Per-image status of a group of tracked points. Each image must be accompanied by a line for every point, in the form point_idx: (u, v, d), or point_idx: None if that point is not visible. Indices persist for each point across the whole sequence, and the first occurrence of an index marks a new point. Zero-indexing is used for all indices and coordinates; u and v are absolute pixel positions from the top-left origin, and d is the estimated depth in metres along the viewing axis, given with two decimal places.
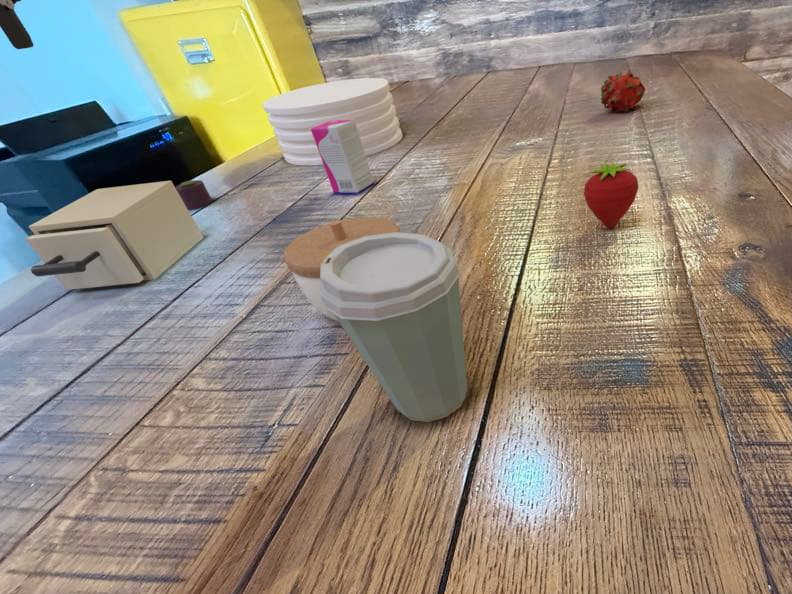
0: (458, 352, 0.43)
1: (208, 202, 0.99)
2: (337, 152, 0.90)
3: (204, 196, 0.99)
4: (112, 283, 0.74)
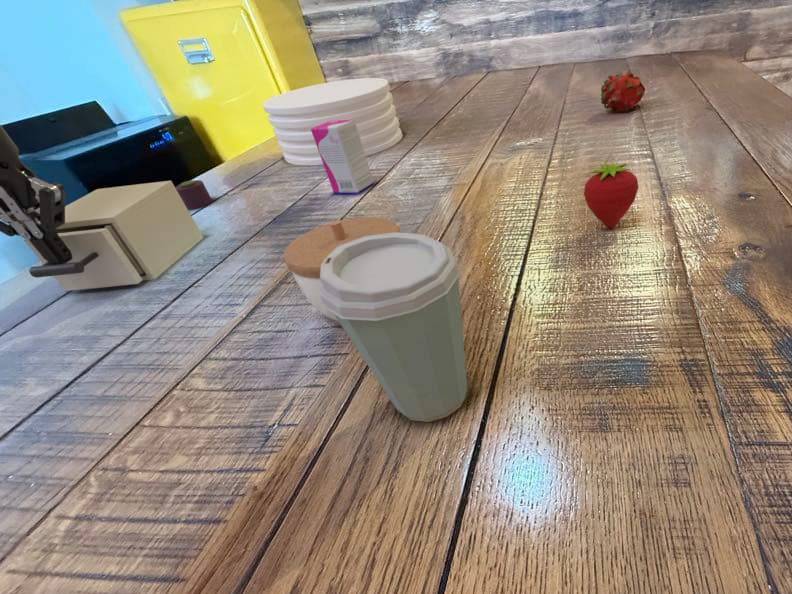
0: (458, 352, 0.43)
1: (208, 202, 0.99)
2: (337, 152, 0.90)
3: (204, 196, 0.99)
4: (111, 284, 0.73)
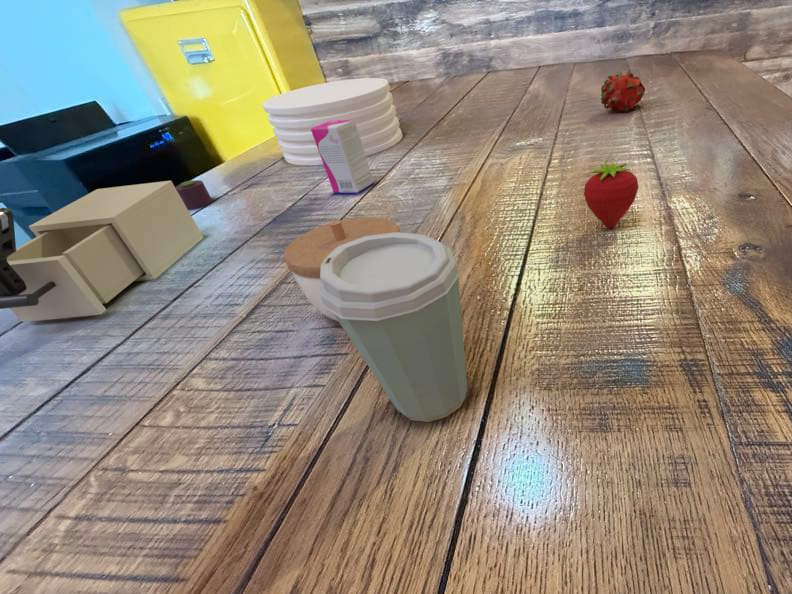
0: (458, 352, 0.43)
1: (208, 202, 0.99)
2: (337, 152, 0.90)
3: (204, 196, 0.99)
4: (71, 315, 0.67)
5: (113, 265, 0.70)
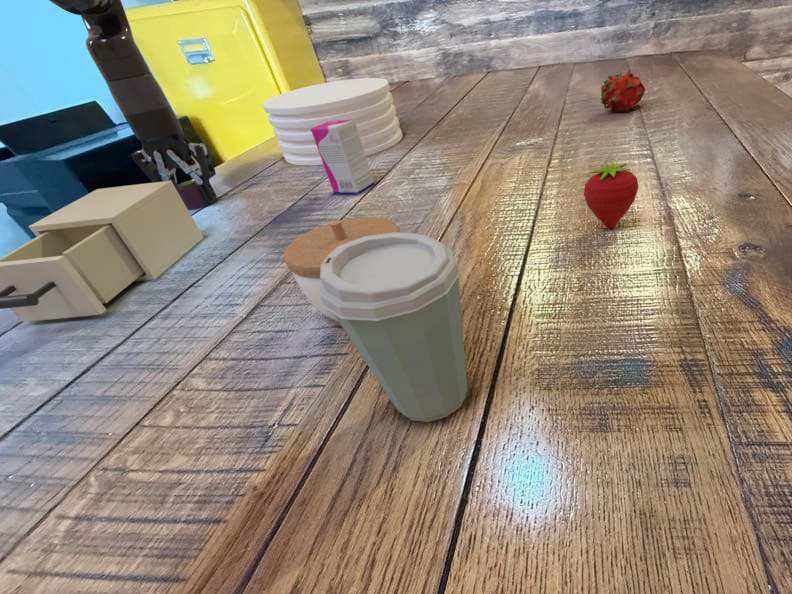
0: (458, 352, 0.43)
1: None
2: (337, 152, 0.90)
3: None
4: (71, 315, 0.67)
5: (113, 265, 0.70)
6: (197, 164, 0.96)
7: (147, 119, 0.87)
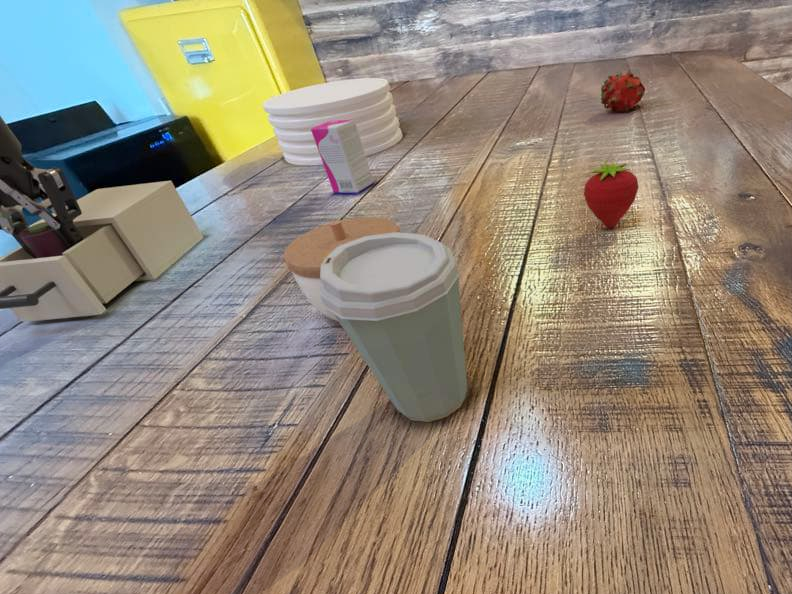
0: (458, 352, 0.43)
1: None
2: (337, 152, 0.90)
3: None
4: (71, 315, 0.67)
5: (113, 265, 0.70)
6: None
7: None
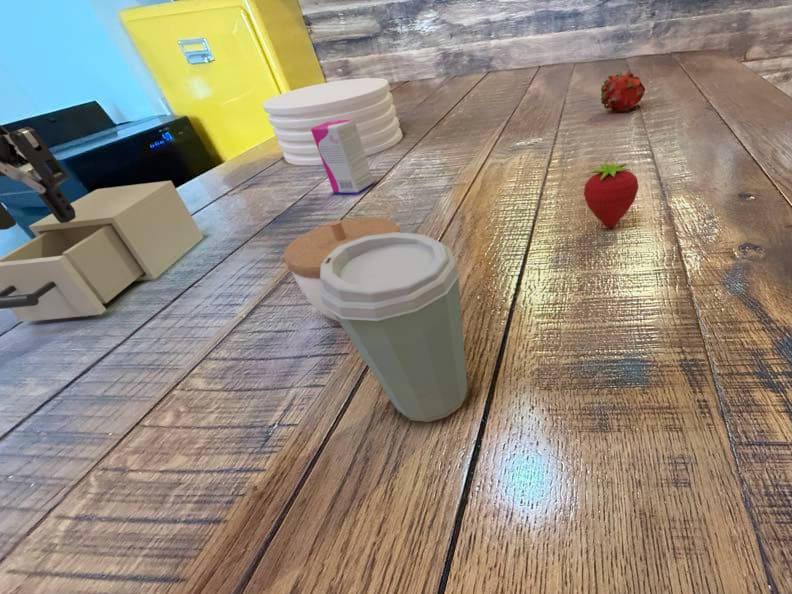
0: (458, 352, 0.43)
1: None
2: (337, 152, 0.90)
3: None
4: (71, 315, 0.67)
5: (113, 265, 0.70)
6: None
7: None
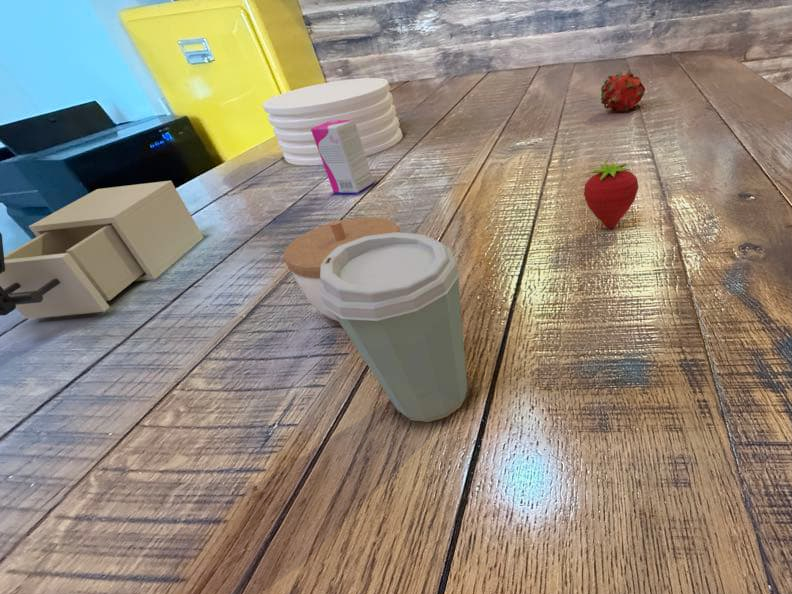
0: (458, 352, 0.43)
1: None
2: (337, 152, 0.90)
3: None
4: (75, 312, 0.68)
5: (116, 262, 0.71)
6: None
7: None
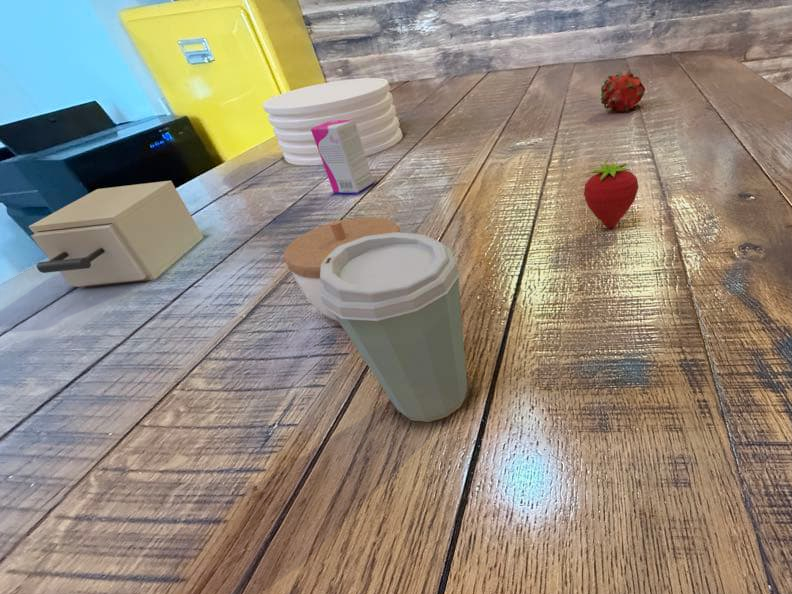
0: (458, 352, 0.43)
1: None
2: (337, 152, 0.90)
3: None
4: (116, 280, 0.74)
5: None
6: None
7: None
